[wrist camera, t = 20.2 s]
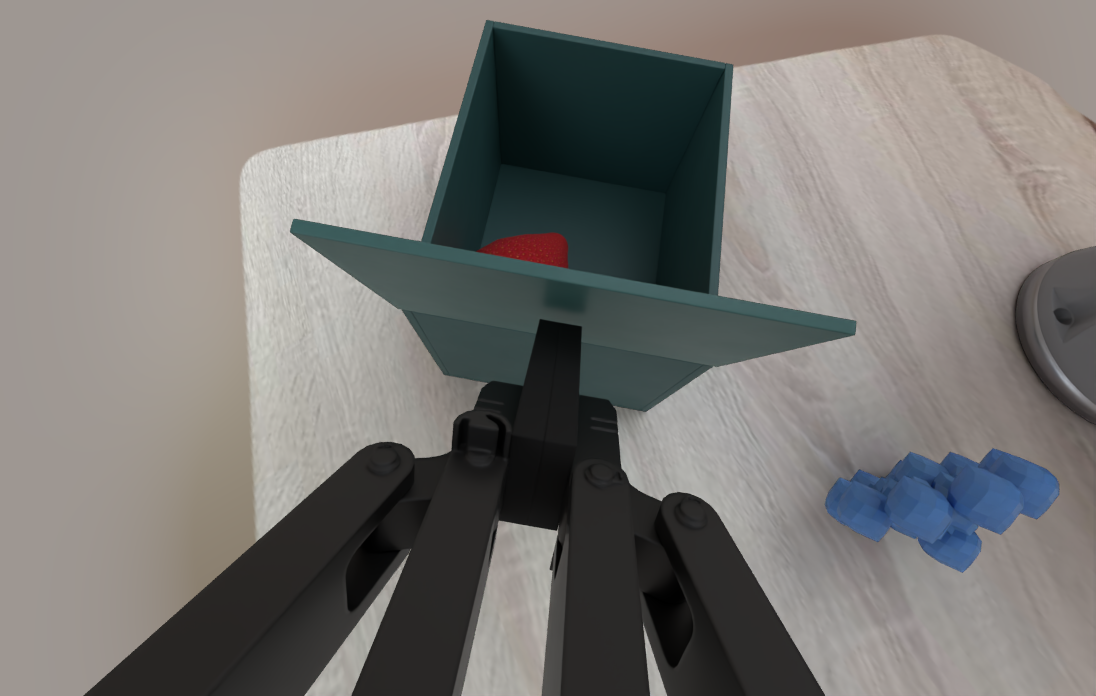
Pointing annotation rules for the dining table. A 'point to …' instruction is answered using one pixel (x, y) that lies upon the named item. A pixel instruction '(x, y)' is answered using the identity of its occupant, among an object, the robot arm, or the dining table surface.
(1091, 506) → the dining table surface
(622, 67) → the carton
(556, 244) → the strawberry
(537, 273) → the flap
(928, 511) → the blue knobby cluster
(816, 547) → the dining table surface
